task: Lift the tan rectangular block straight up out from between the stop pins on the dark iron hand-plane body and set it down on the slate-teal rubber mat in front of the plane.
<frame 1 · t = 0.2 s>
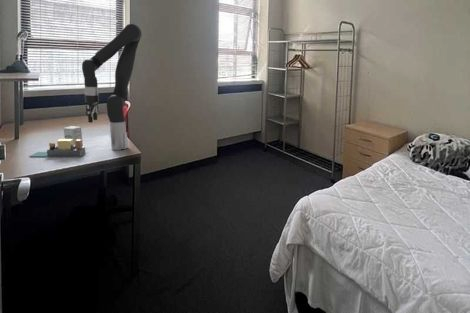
hand: (93, 121, 203), 17 cm above the table, tool pointing down, fingers open, 8 cm apart
tan rectangular block: (66, 148, 193), point 4 cm above the table, touching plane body
supplement box: (74, 147, 212), on the table
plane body: (66, 155, 194), on the table
mat: (41, 154, 193), on the table
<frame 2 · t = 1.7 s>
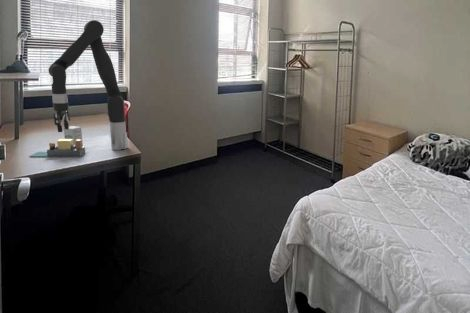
hand: (63, 130, 190), 14 cm above the table, tool pointing down, fingers open, 8 cm apart
nothing on the table moved.
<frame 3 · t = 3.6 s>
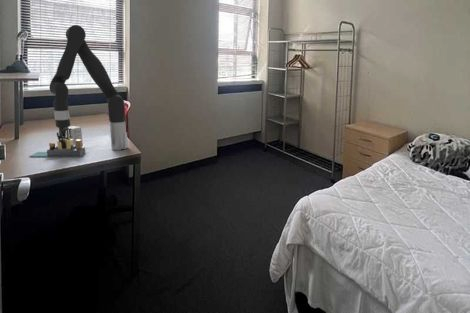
hand: (66, 147, 192), 5 cm above the table, tool pointing down, fingers closed on tan rectangular block, 4 cm apart
tan rectangular block: (66, 148, 193), point 4 cm above the table, touching gripper, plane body
everything else where it was.
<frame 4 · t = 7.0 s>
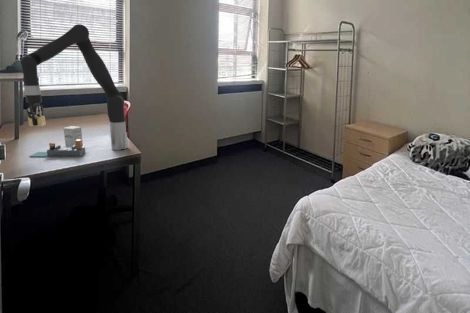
hand: (37, 124, 188), 18 cm above the table, tool pointing down, fingers closed on tan rectangular block, 4 cm apart
tan rectangular block: (37, 125, 188), point 17 cm above the table, touching gripper
everything else where it was.
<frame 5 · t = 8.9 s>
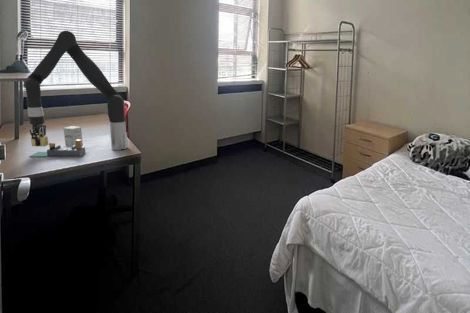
hand: (40, 144, 191), 6 cm above the table, tool pointing down, fingers closed on tan rectangular block, 4 cm apart
tan rectangular block: (40, 145, 191), point 6 cm above the table, touching gripper
everything else where it was.
when the fingers open (3 cm above the table, at t = 10.5 s): tan rectangular block drops 2 cm, resting on mat.
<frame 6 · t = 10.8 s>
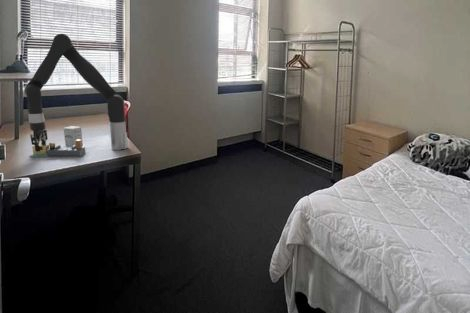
hand: (41, 149, 192), 3 cm above the table, tool pointing down, fingers open, 7 cm apart
tan rectangular block: (41, 154, 193), point 1 cm above the table, touching mat
everything else where it was.
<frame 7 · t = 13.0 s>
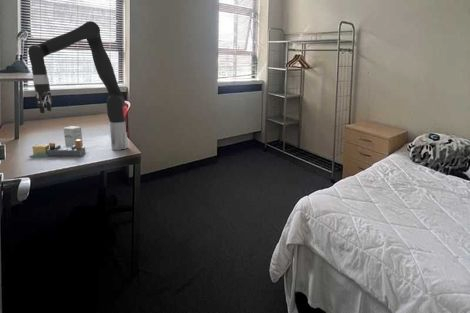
hand: (46, 111, 191), 24 cm above the table, tool pointing down, fingers open, 8 cm apart
nothing on the table moved.
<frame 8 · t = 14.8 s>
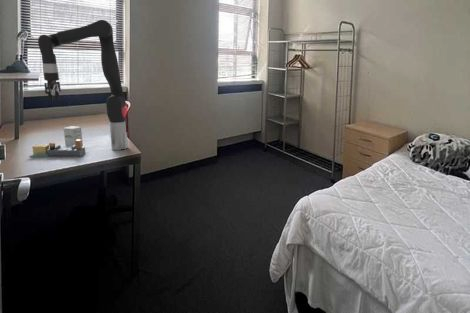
hand: (54, 100, 195), 30 cm above the table, tool pointing down, fingers open, 8 cm apart
nothing on the table moved.
at the end: tan rectangular block inside the target area on the mat (0.0 cm from its centre), point 0.6 cm above the mat's base; tan rectangular block touching mat; tan rectangular block tilted 0° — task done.
